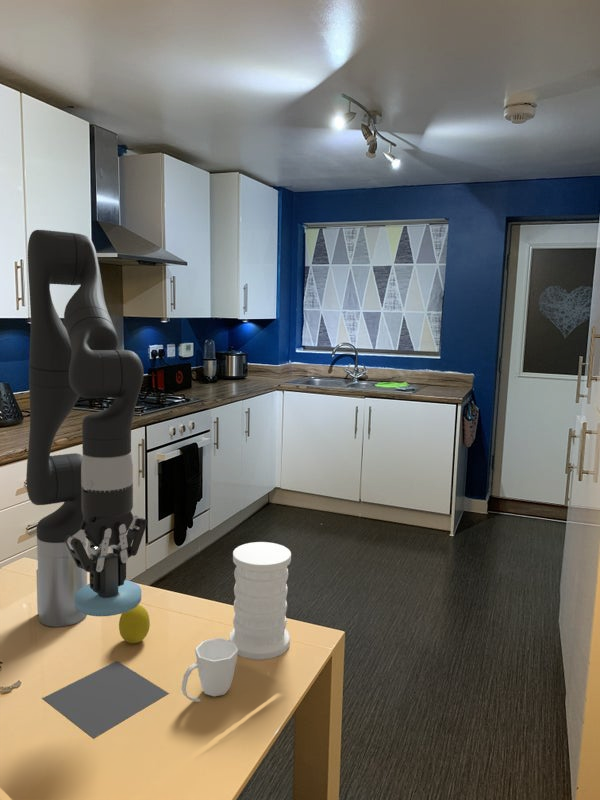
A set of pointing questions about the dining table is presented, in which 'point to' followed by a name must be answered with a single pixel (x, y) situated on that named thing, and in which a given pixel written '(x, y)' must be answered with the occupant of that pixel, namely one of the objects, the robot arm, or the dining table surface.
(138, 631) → the lemon
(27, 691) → the dining table surface
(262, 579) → the decorative container
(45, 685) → the dining table surface
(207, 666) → the cup
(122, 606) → the lid
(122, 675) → the mat
